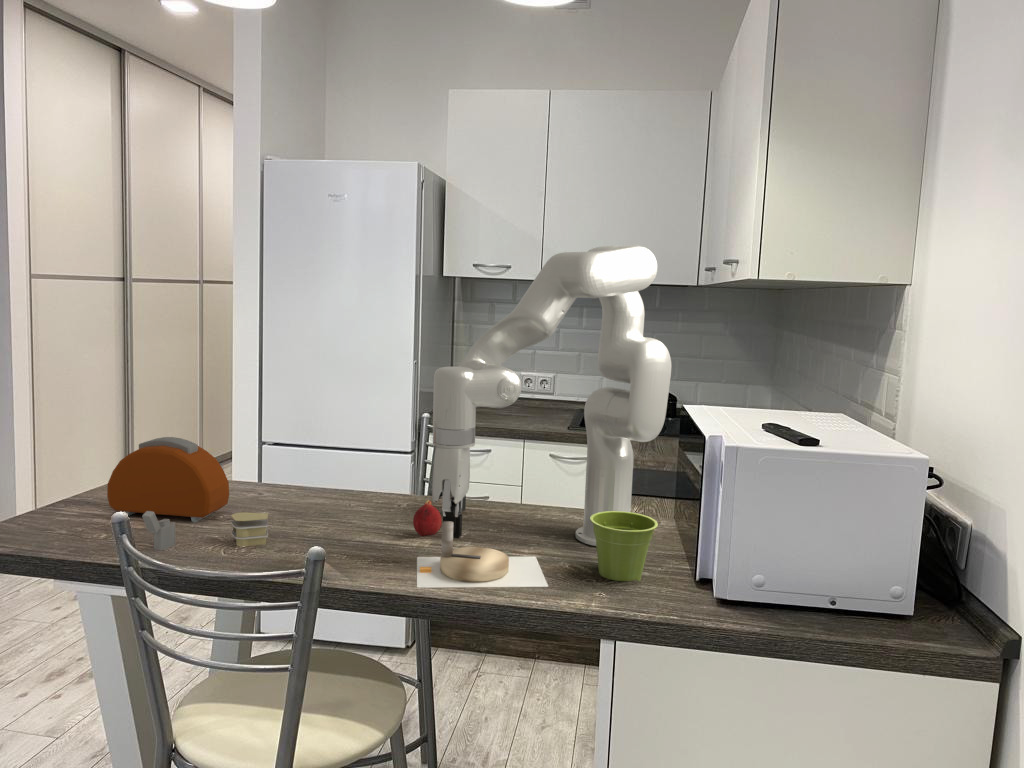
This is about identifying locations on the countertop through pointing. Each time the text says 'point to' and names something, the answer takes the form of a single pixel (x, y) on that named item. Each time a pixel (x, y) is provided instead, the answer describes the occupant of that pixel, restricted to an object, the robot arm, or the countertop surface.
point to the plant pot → (622, 543)
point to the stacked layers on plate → (250, 528)
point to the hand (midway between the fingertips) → (452, 536)
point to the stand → (518, 575)
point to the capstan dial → (470, 560)
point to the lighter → (160, 531)
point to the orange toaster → (168, 480)
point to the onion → (427, 520)
